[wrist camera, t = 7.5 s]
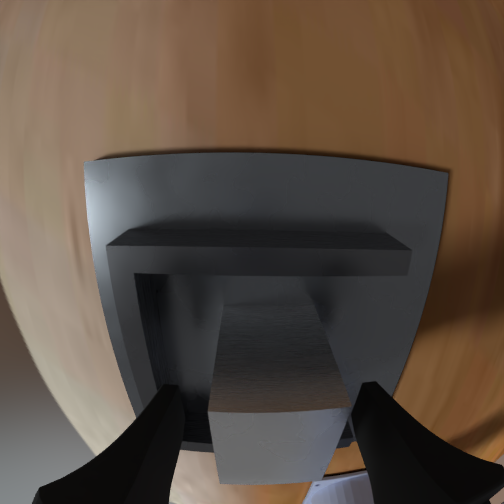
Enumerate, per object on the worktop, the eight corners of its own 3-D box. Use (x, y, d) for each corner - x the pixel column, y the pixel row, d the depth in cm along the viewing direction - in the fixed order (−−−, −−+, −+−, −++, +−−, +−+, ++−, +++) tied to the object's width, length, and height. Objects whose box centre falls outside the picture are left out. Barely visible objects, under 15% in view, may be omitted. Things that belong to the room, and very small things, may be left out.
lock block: (303, 385, 14) (321, 480, 9) (227, 386, 14) (219, 483, 9) (314, 305, 13) (352, 406, 7) (223, 305, 13) (207, 411, 7)
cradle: (368, 430, 17) (378, 461, 15) (148, 432, 17) (139, 463, 14) (439, 171, 11) (478, 179, 9) (92, 160, 11) (54, 165, 8)
